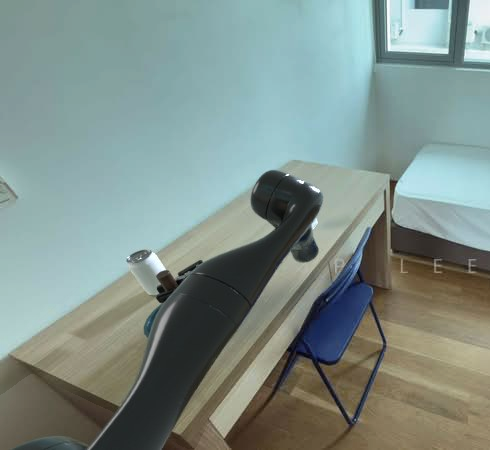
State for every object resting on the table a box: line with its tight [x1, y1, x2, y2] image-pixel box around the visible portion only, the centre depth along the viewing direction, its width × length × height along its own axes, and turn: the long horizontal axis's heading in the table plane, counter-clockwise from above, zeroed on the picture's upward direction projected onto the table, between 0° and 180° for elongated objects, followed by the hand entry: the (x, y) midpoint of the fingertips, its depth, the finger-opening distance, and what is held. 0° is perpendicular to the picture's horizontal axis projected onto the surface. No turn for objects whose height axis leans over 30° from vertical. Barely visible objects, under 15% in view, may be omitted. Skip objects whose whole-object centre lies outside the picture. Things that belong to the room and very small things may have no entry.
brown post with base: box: [156, 269, 178, 291], centre depth 73 cm, size 5×5×15 cm
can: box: [126, 248, 167, 296], centre depth 85 cm, size 6×6×12 cm
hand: (158, 294), depth 71 cm, fingers closed on brown post with base, 2 cm apart
